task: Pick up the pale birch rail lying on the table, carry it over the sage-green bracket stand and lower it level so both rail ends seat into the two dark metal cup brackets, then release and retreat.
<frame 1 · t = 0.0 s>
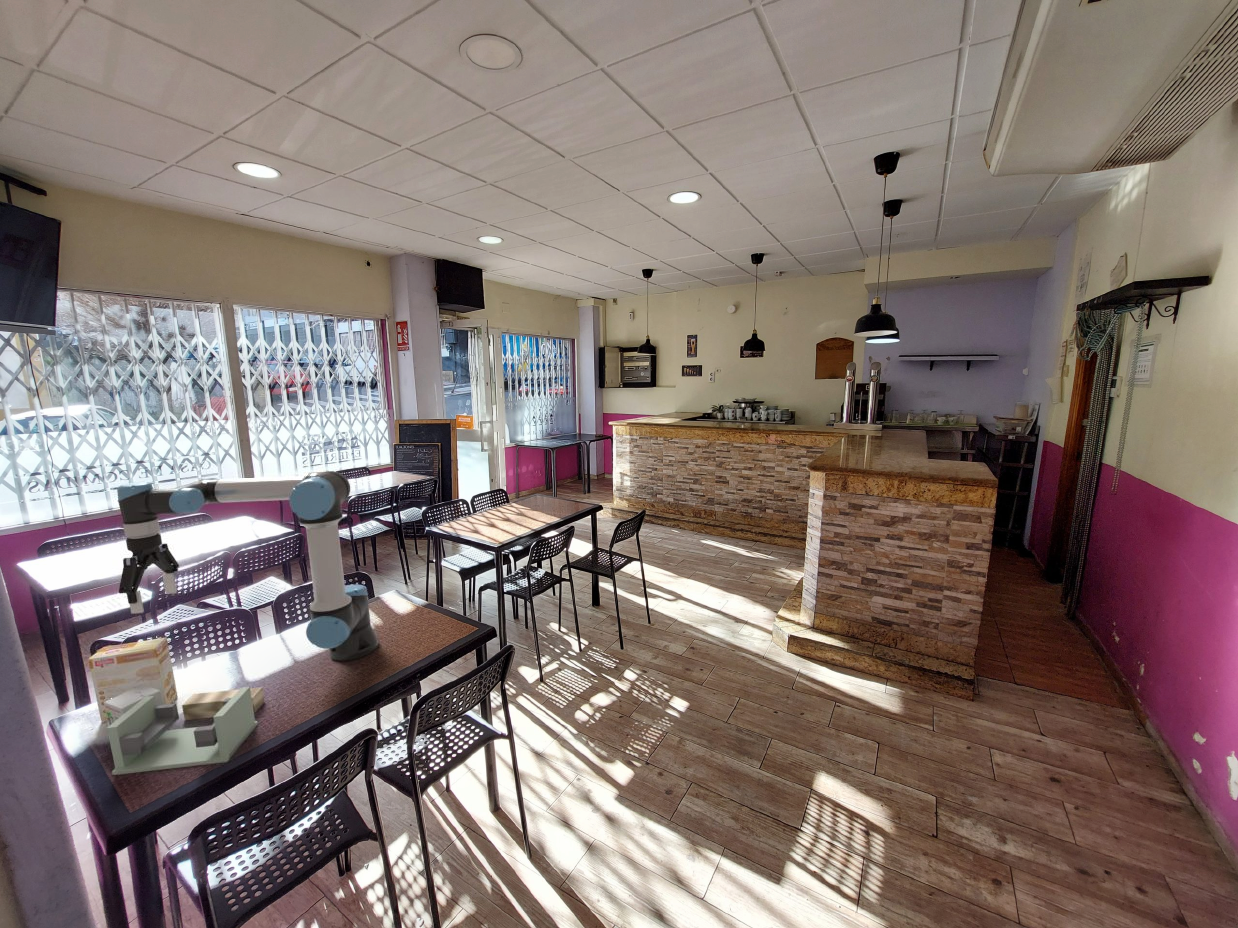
hand: (155, 602, 151), 28 cm above the table, fingers open, 13 cm apart
ink box: (140, 735, 135), on the table
bracket stand: (190, 747, 129), on the table
rail: (225, 711, 144), on the table
coffeecake box: (141, 709, 145), on the table
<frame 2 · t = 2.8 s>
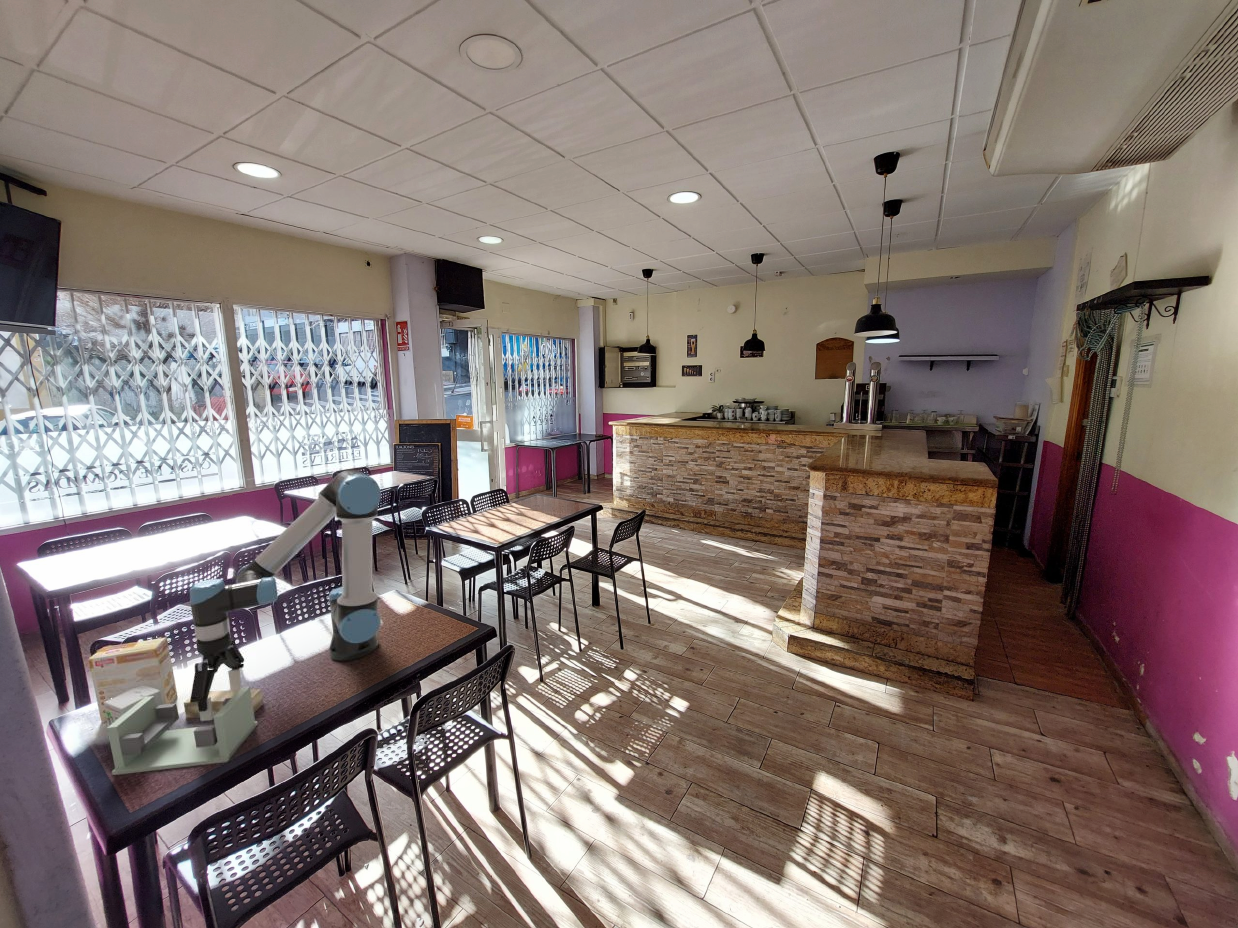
hand: (222, 704, 143), 2 cm above the table, fingers open, 13 cm apart
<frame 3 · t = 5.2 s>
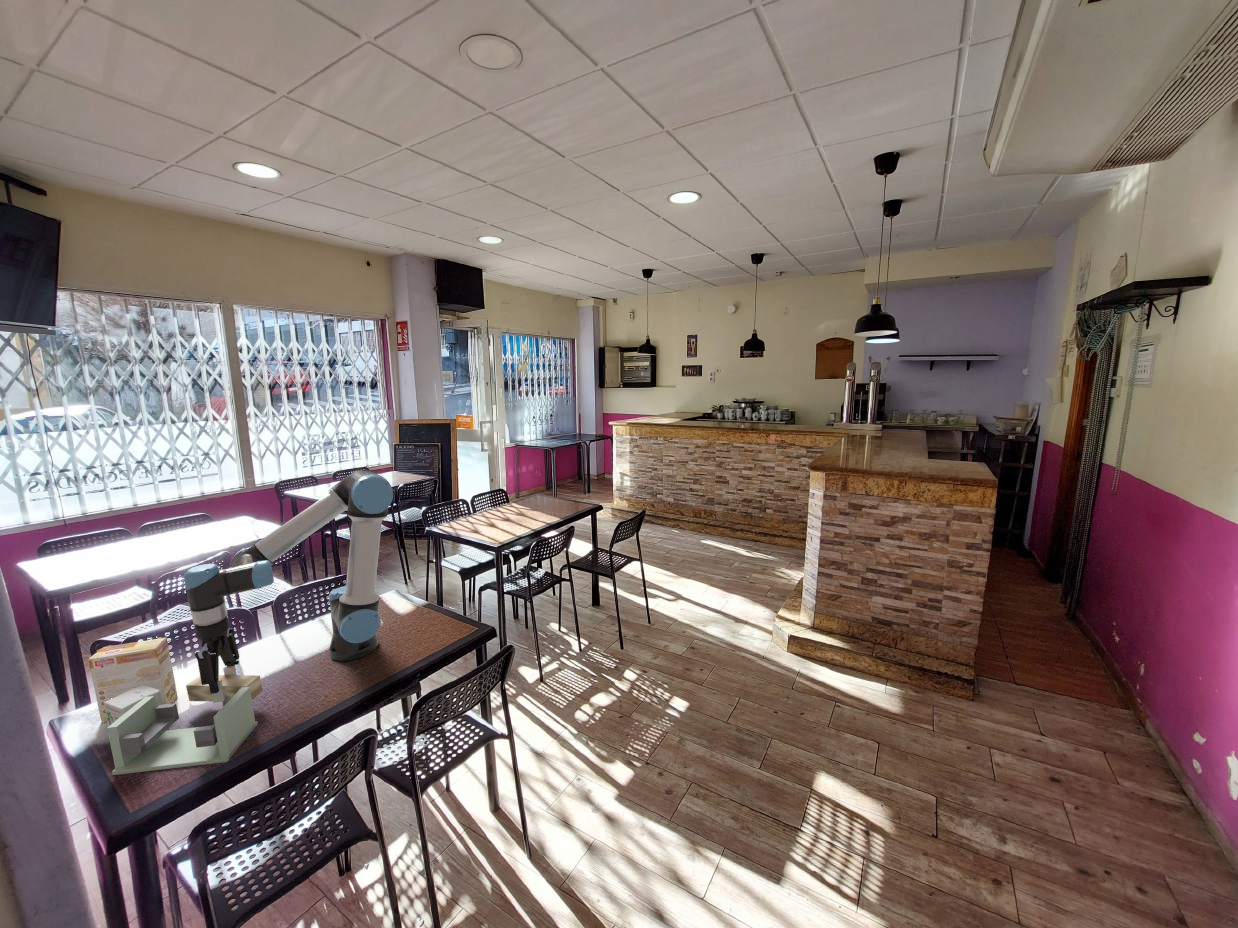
hand: (226, 693, 144), 5 cm above the table, fingers closed on rail, 6 cm apart
rail: (226, 695, 144), point 4 cm above the table, touching gripper
everything else where it was.
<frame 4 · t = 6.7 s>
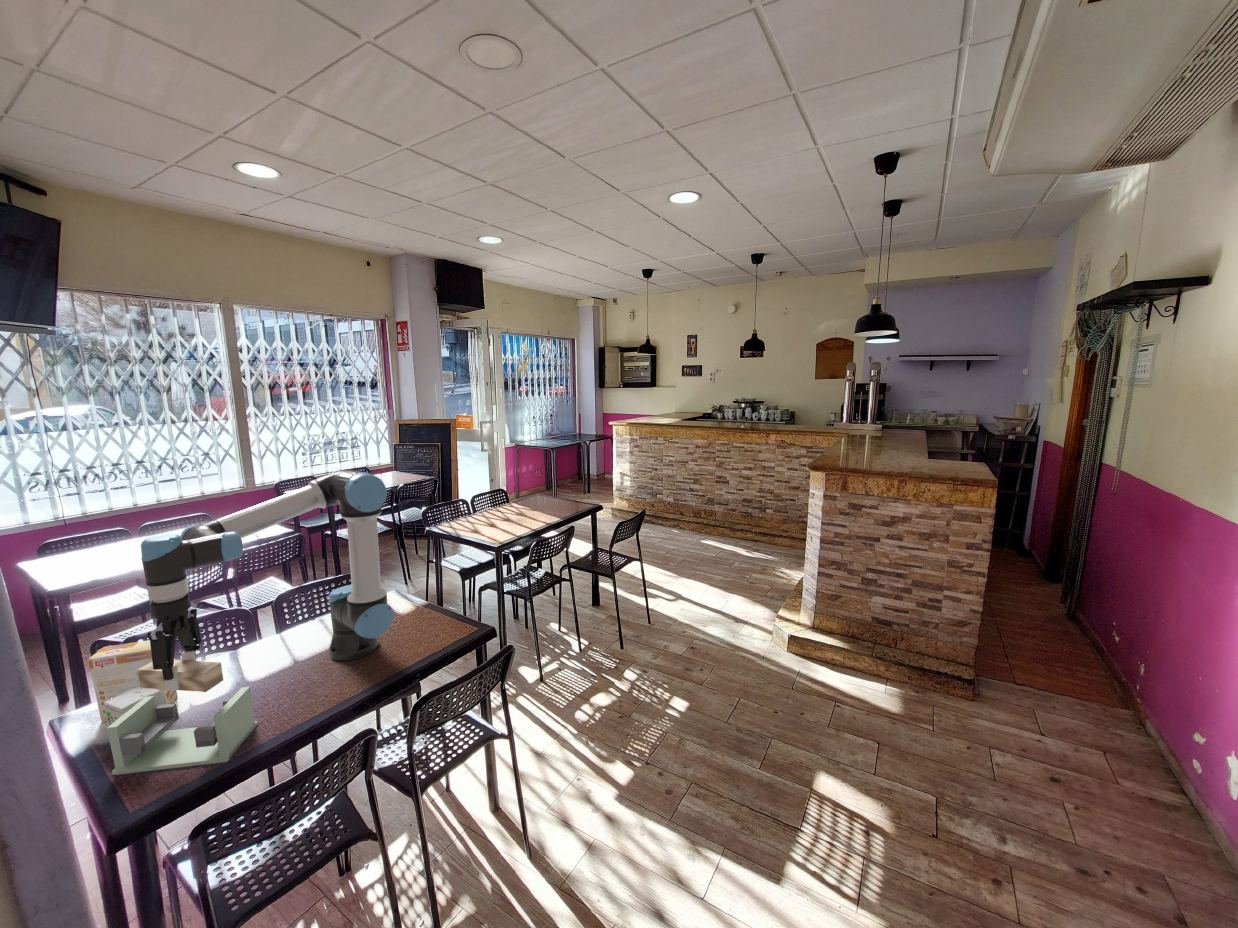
hand: (182, 681, 128), 18 cm above the table, fingers closed on rail, 6 cm apart
rail: (182, 683, 129), point 17 cm above the table, touching gripper
everything else where it was.
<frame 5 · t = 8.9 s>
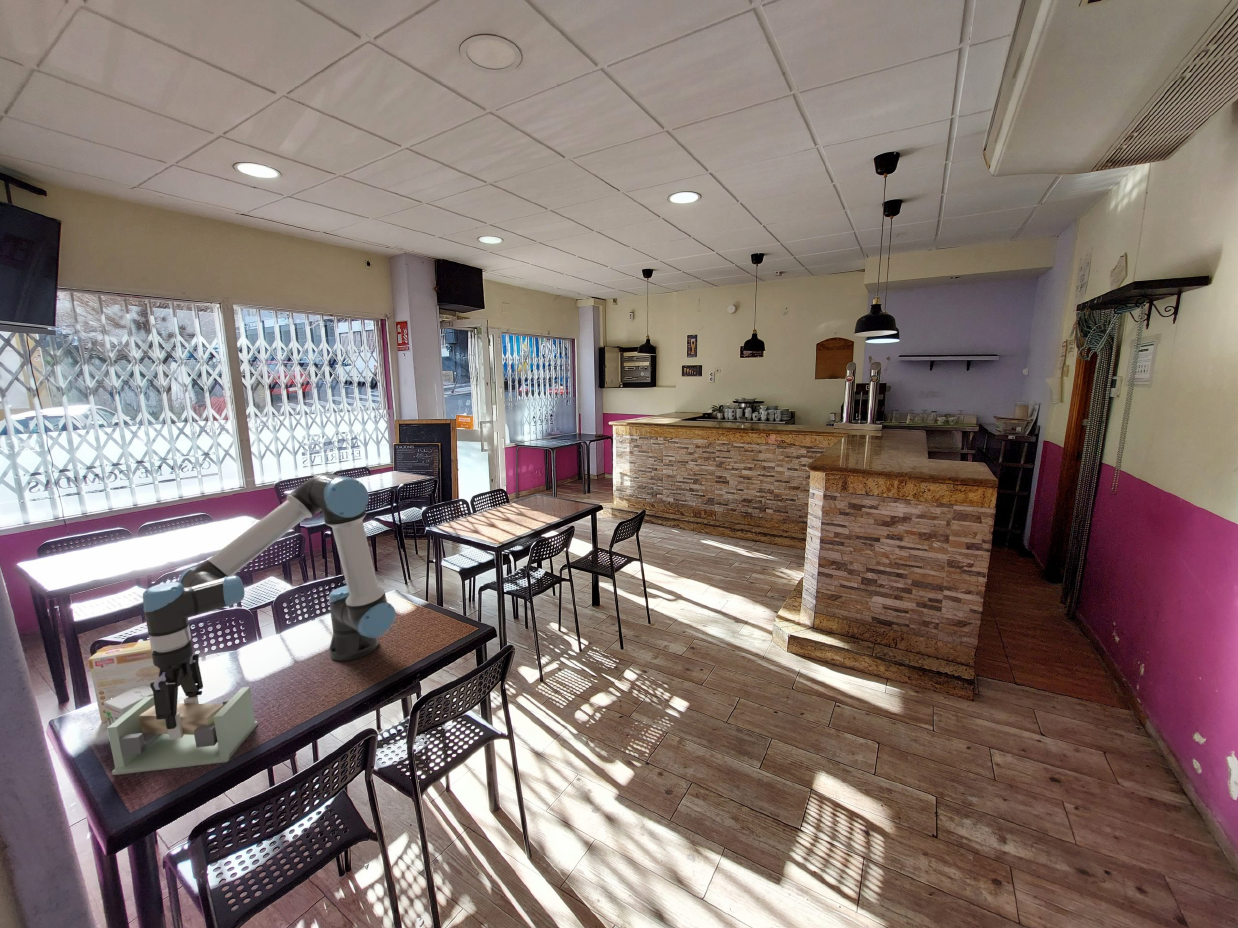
hand: (185, 728, 128), 6 cm above the table, fingers closed on rail, 6 cm apart
rail: (185, 727, 128), point 6 cm above the table, touching bracket stand, gripper
everything else where it was.
when the fingers open (6 cm above the table, at t = 9.5 s): rail stays where it is, resting on bracket stand.
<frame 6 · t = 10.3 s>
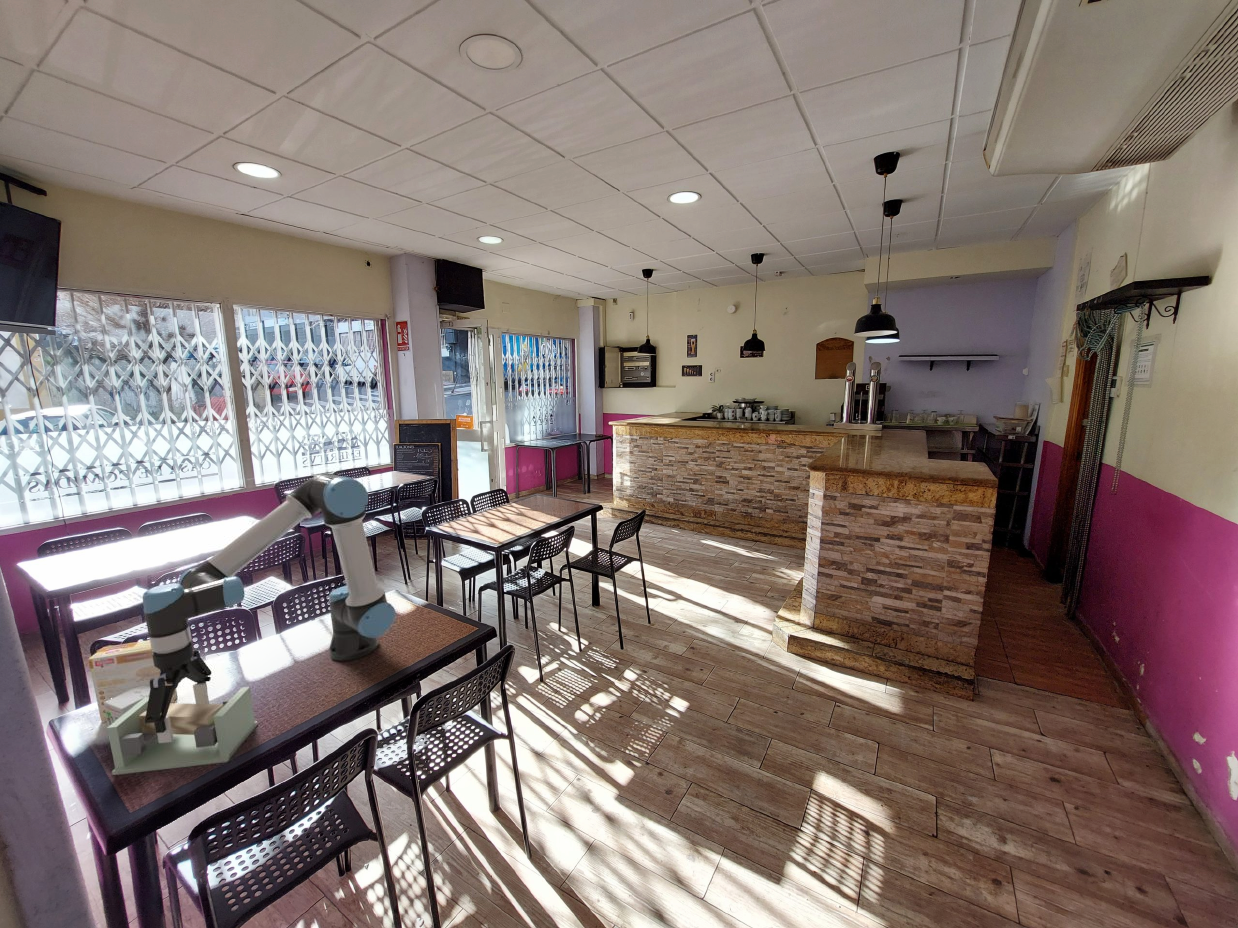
hand: (185, 722, 128), 7 cm above the table, fingers open, 13 cm apart
rail: (185, 727, 128), point 6 cm above the table, touching bracket stand
everything else where it was.
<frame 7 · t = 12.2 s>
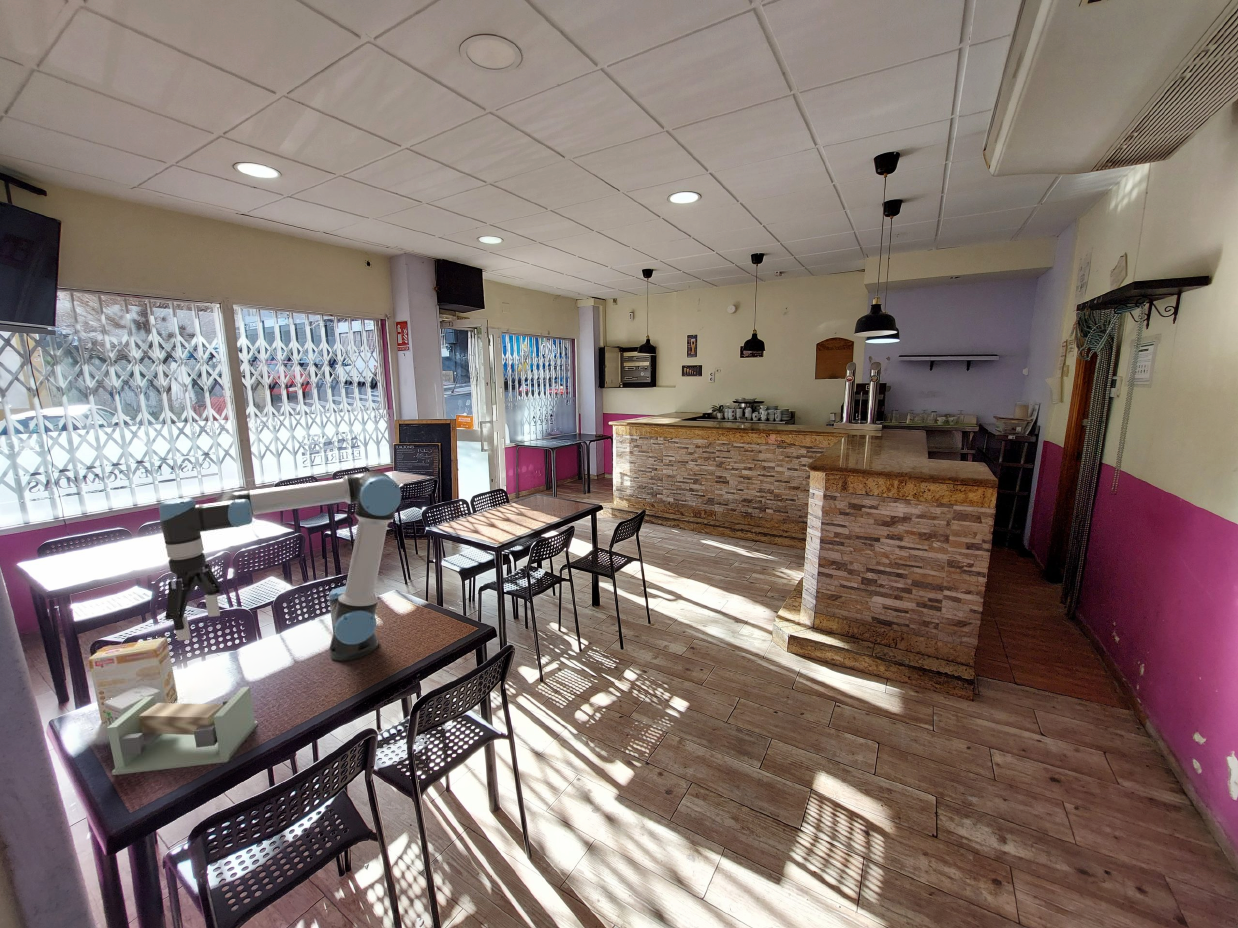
hand: (200, 627, 140), 26 cm above the table, fingers open, 13 cm apart
nothing on the table moved.
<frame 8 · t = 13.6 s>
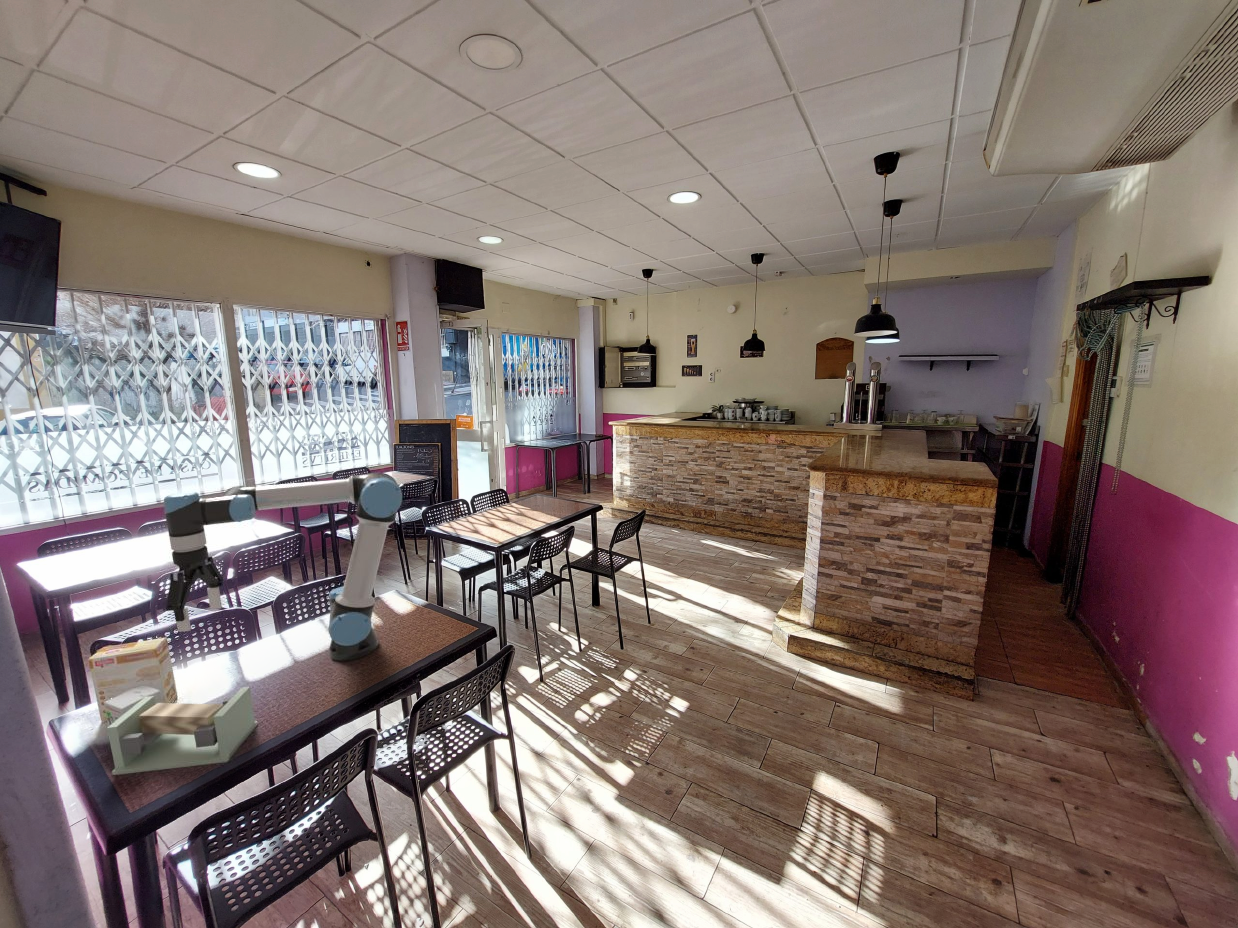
hand: (201, 619, 143), 27 cm above the table, fingers open, 13 cm apart
nothing on the table moved.
at the end: rail 0.3 cm off-centre on the bracket stand, point 6.0 cm above the bracket stand's base; rail tilted 0°; the gripper is holding nothing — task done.
